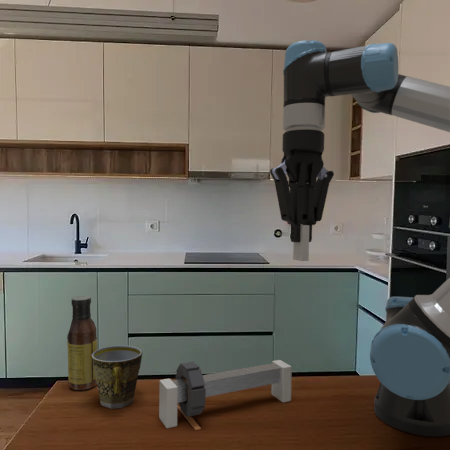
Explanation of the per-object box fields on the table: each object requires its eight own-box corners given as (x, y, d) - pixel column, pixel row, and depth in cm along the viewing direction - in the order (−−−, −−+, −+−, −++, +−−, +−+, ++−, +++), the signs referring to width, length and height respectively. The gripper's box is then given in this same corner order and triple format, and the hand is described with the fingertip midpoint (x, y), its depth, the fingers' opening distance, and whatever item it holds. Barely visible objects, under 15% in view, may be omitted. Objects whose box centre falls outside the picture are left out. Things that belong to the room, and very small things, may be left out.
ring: (187, 401, 86) (187, 356, 85) (205, 421, 78) (205, 372, 77) (175, 403, 85) (175, 358, 84) (192, 424, 76) (193, 374, 76)
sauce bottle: (86, 378, 99) (86, 293, 98) (103, 384, 95) (104, 296, 95) (61, 387, 94) (61, 297, 93) (78, 394, 90) (79, 301, 89)
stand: (272, 387, 95) (272, 355, 95) (299, 406, 86) (299, 371, 86) (154, 411, 83) (155, 374, 83) (171, 435, 74) (172, 395, 74)
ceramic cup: (92, 393, 91) (93, 346, 91) (140, 388, 94) (140, 343, 93) (89, 422, 78) (89, 369, 78) (144, 417, 81) (144, 364, 81)
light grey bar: (277, 376, 92) (277, 361, 91) (285, 382, 89) (285, 366, 89) (165, 397, 80) (165, 380, 80) (171, 404, 78) (171, 387, 78)
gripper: (318, 137, 84) (316, 256, 85) (262, 131, 79) (259, 259, 79) (345, 131, 78) (342, 261, 78) (285, 124, 72) (282, 264, 73)
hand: (300, 259), depth 79 cm, fingers closed
